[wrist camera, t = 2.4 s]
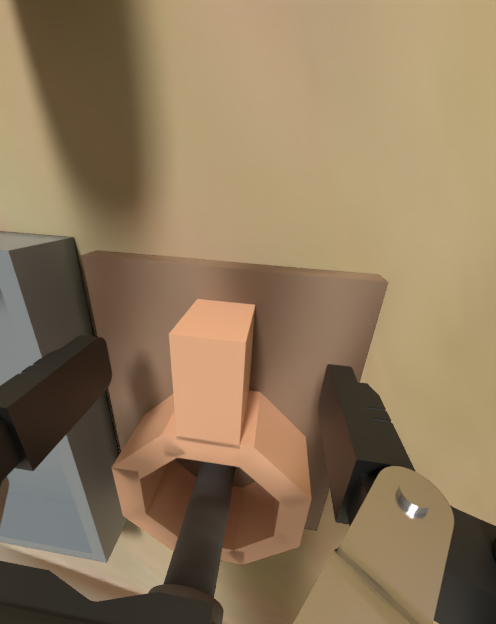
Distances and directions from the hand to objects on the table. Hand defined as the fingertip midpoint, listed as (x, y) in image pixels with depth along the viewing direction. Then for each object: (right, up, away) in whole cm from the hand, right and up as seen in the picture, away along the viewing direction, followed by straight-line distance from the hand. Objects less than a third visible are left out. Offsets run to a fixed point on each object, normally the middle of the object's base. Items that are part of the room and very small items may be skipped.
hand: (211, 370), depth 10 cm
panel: (0, -3, +5) cm, 6 cm away
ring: (0, -3, +4) cm, 5 cm away
